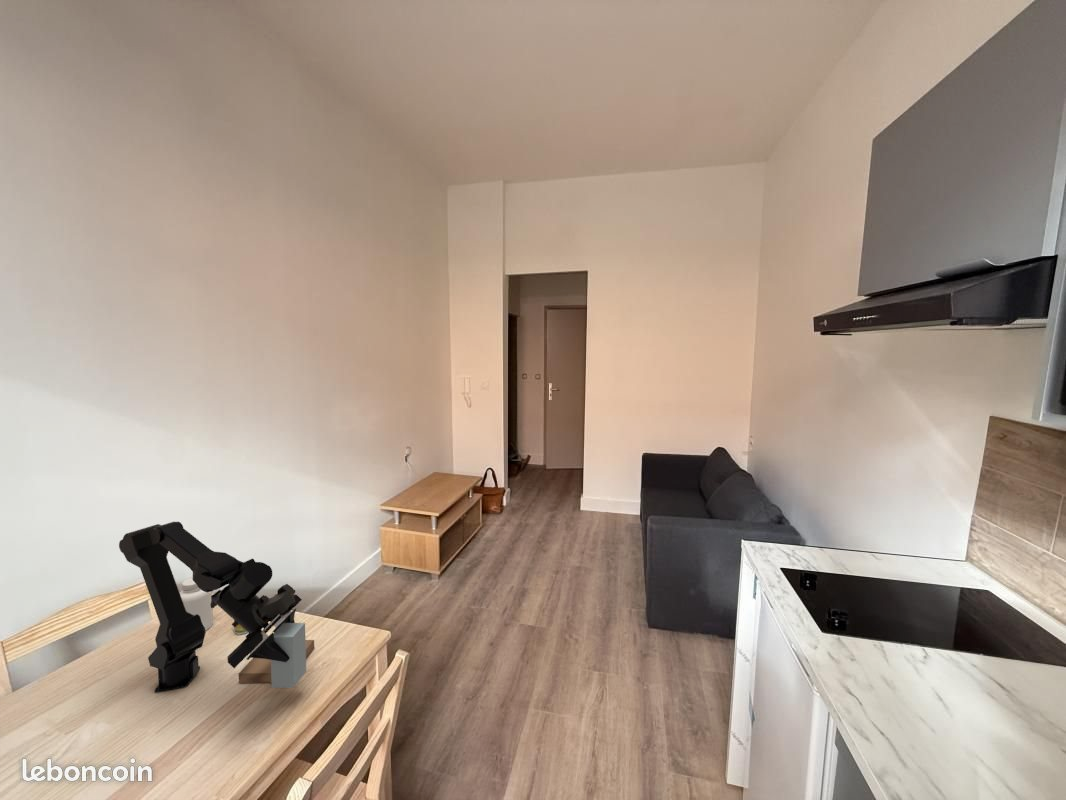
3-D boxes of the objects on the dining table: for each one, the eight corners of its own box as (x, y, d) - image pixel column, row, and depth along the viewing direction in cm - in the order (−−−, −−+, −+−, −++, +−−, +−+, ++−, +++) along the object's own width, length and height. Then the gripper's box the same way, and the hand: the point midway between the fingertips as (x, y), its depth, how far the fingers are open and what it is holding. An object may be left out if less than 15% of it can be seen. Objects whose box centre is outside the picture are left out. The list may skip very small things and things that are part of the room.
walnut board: (238, 683, 96) (238, 673, 96) (270, 649, 108) (269, 640, 108) (288, 682, 96) (288, 672, 96) (314, 648, 108) (314, 639, 108)
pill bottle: (183, 641, 110) (181, 590, 109) (173, 631, 114) (171, 582, 113) (218, 626, 117) (216, 578, 116) (207, 617, 121) (205, 570, 120)
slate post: (271, 687, 88) (270, 637, 88) (284, 671, 93) (283, 622, 93) (294, 687, 89) (292, 636, 88) (306, 670, 94) (305, 622, 93)
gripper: (240, 606, 80) (296, 657, 81) (292, 562, 99) (338, 604, 100) (202, 643, 80) (258, 693, 81) (261, 592, 99) (307, 634, 100)
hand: (294, 651), depth 91 cm, fingers closed on slate post, 5 cm apart
